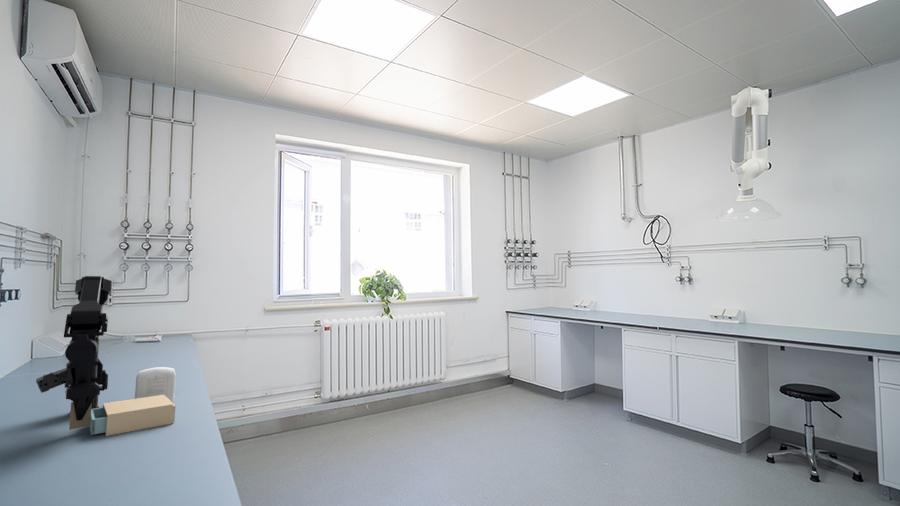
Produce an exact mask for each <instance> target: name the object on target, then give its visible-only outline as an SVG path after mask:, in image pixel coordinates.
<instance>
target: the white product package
mask: <svg viewBox="0 0 900 506" xmlns="http://www.w3.org/2000/svg"><path fill="white" fill-rule="evenodd" d="M176 374H177V373H176V371H175V368H172V367H168V366H157V367H150V368H145V369H142V370H140V371H138V374H137V375H136V379H135V388H134V389H135V391H134V399H136V398H143V397H150V396H157V395H164V396H166V397H167V398H168V399H169V400H170V401H171V402H172V403H173V404H174V405H175V398H176V397H175V395H176V394H175V393H176V384H177V383H176V381H177V375H176Z"/></svg>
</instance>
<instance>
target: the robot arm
mask: <svg viewBox="0 0 900 506" xmlns="http://www.w3.org/2000/svg"><path fill="white" fill-rule="evenodd" d="M112 285H113V282H112V280H110V279H107V278H105V277H104V276H101V275H100V276H99V275H85V276H82V277H81V278H80V279H77V280H75V287H74V294H75V296H77V300H78V303H76V304H74V305H73V306H72V307H71V310H70V313H67V314H66V319H65V325H64V331H63V332H64V333H63V339H65V338H71V340H70V341H69V344H68V346H67V347H66V349H65V351H64V356H65V359H66V360H68V362H67V363H66V364H65V365H66V366H65V368H62V369H60V370H56V371H53V372H49V373H48V374H43V375H42V376H39V377H38V378H37V377H36V378H35V379H36V380H35V382H36V384H37V387H38V390H39V391H40V393H46V392H48V391H49V390H51V389H54V388H56V387H59V386H62V385H64V389H65V392H64V393H65V399H66V400H70V401H72V402H73V403H74V409H75V414H76V420H77V421H78V420H82V419H83V417H84V416H85V414H86V412H87V410H88V408H89V407H90V405H91V403H92V408H91V409H96V408H100V406H99V396H100V395H101V391H102V392H104V391H105V390H108V388H109V387H108V386H109V385H108V384H109V383H108V381H109V374H108V373H107V371H106V369H104V364H103V362H102V361H101V360H100V358H99V347H100V336H102V337H103V336H105V335H104V333H107V331H108V326H109V325H108V323H109V316H107V313H106V312H104V311H103V310H104V306H105V305H106V304H107V302H108V300H109V295H110V296H111V295H112V287H113V286H112ZM70 412H71V409H70V410H69V413H70Z"/></svg>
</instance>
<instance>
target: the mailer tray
mask: <svg viewBox="0 0 900 506" xmlns="http://www.w3.org/2000/svg"><path fill="white" fill-rule="evenodd" d="M91 408H92V403H91V405H90V407H89V408H88V410H87V412H86V414H85V416H84V417H83V419H82V420H78V421H77V420H76V414H75V409H74V403H73V401H72V402H70V410H71V412H70V411H69V427H68V430H77V429H82V428H86V427H87V428H88V427H89V431H90V435H91V436H92V435H98V434H103V433H105V432H106V427H107V414H106V412H105V409H104V407H103V406H102V407H99V408H96V409H91Z"/></svg>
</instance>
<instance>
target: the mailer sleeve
mask: <svg viewBox="0 0 900 506" xmlns="http://www.w3.org/2000/svg"><path fill="white" fill-rule="evenodd" d="M103 407H104V409H105V412H106V414H107V427H106V432H104V433H105V436H106V437H108V436H113V435H118V434H124V433H130V432H134V431H140V430H145V429H150V428H156V427H160V426H161V427H162V426H167V425H171V424H173V423H174V422H175V417H176V405H175V403H174V404H173V403H172V402H171V401H170V400H169V399H168V398H167V397H166V396H164V395H157V396H150V397H143V398H136V399H135V398H129V399H124V400H117V401H111V402H103V403H102V408H103Z"/></svg>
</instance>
